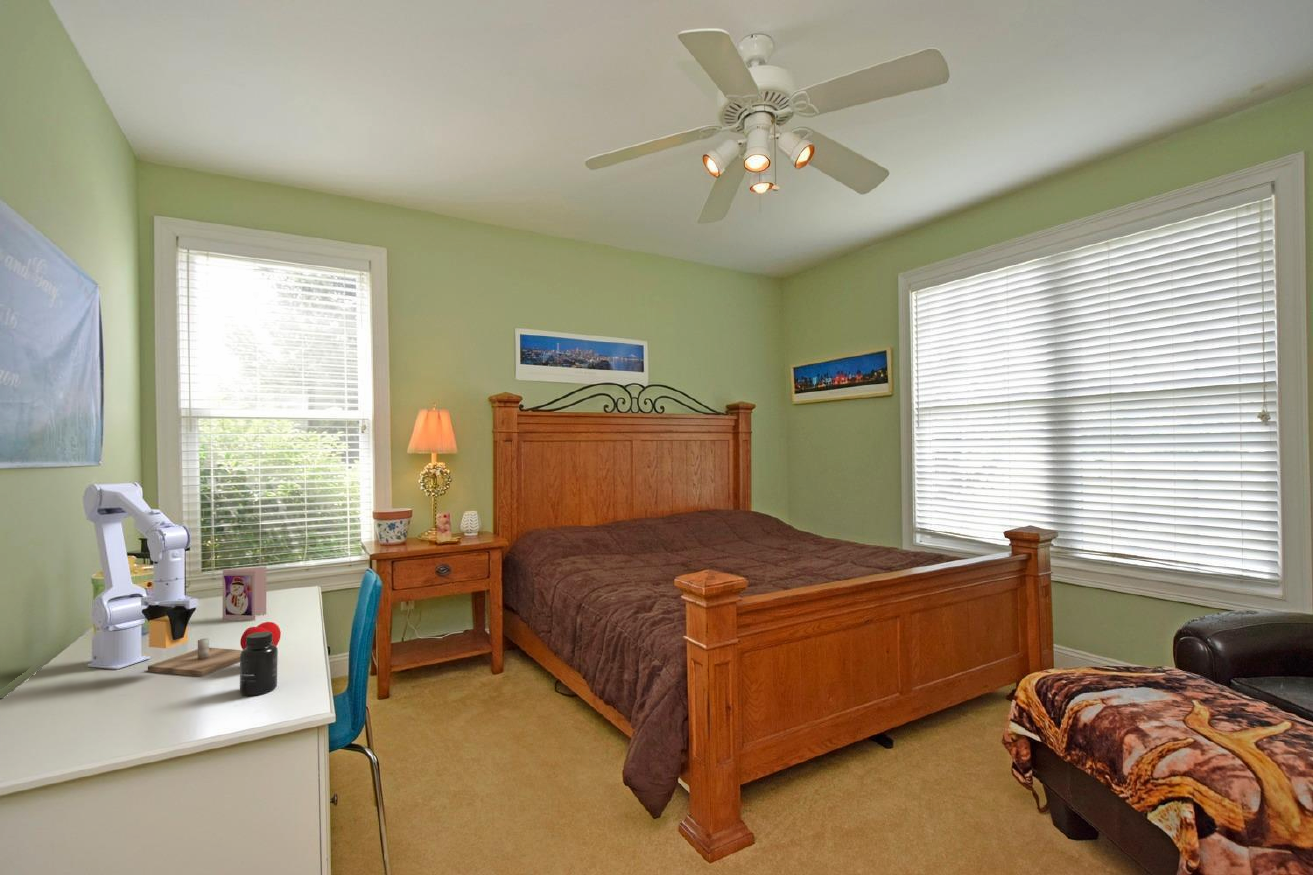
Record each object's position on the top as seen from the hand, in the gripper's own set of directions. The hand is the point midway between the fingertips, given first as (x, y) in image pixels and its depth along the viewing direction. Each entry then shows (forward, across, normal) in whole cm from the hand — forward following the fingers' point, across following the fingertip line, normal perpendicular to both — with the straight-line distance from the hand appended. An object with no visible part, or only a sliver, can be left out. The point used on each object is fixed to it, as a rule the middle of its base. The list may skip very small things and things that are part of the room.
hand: (169, 637), depth 142 cm
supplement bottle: (+9, +29, -3) cm, 31 cm away
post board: (+8, +1, +8) cm, 11 cm away
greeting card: (+9, -26, +43) cm, 51 cm away
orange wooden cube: (+1, 0, 0) cm, 1 cm away
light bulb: (+9, +17, +9) cm, 21 cm away
